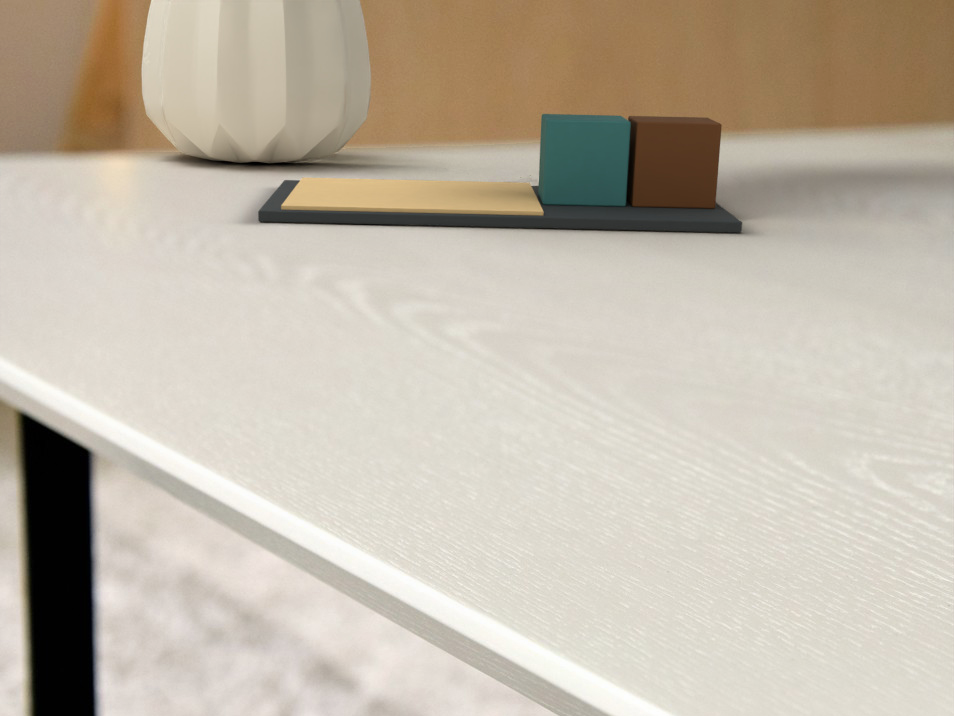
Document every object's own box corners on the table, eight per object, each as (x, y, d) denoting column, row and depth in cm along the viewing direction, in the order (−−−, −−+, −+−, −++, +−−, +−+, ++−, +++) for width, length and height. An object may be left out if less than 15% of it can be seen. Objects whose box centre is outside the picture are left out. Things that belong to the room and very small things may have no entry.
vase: (289, 176, 93) (288, -75, 89) (100, 159, 99) (91, -75, 95) (411, 158, 104) (415, -65, 100) (234, 144, 111) (231, -66, 106)
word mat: (698, 198, 86) (704, 111, 85) (741, 232, 74) (749, 131, 73) (284, 189, 87) (283, 102, 85) (258, 221, 74) (257, 120, 73)
